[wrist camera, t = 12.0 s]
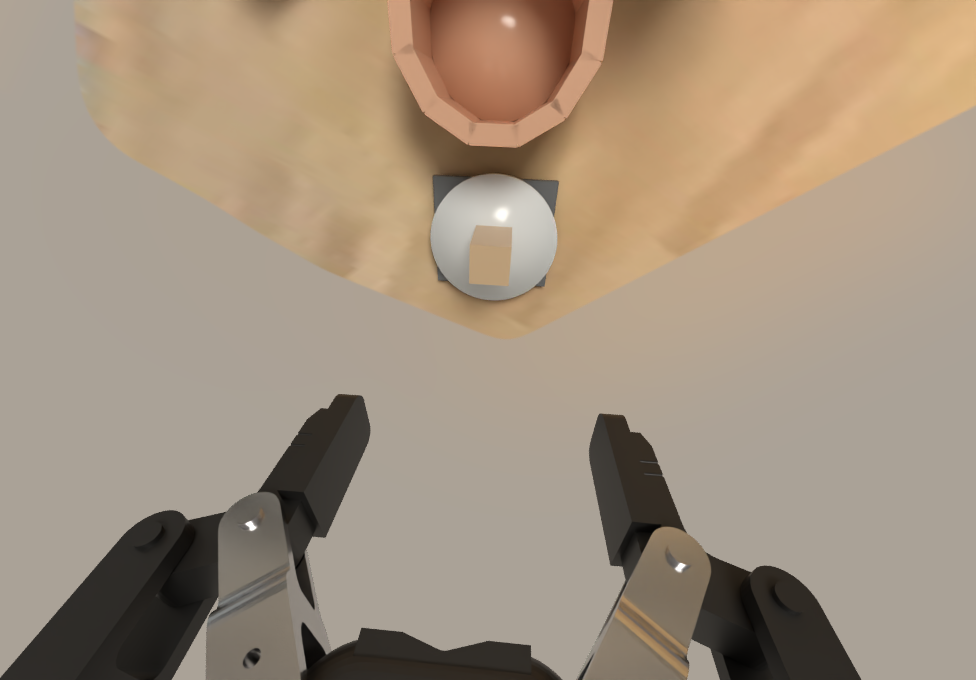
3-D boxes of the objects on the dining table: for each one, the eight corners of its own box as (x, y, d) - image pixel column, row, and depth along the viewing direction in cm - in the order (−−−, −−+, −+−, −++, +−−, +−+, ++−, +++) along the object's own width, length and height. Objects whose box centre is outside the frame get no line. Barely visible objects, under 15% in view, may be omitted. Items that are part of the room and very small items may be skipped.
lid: (566, 176, 27) (577, 191, 22) (547, 300, 33) (552, 332, 28) (429, 169, 27) (410, 182, 22) (435, 292, 33) (421, 323, 29)
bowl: (609, -92, 20) (640, -160, 15) (573, 142, 26) (587, 150, 21) (407, -96, 20) (371, -163, 15) (422, 135, 27) (400, 142, 22)
